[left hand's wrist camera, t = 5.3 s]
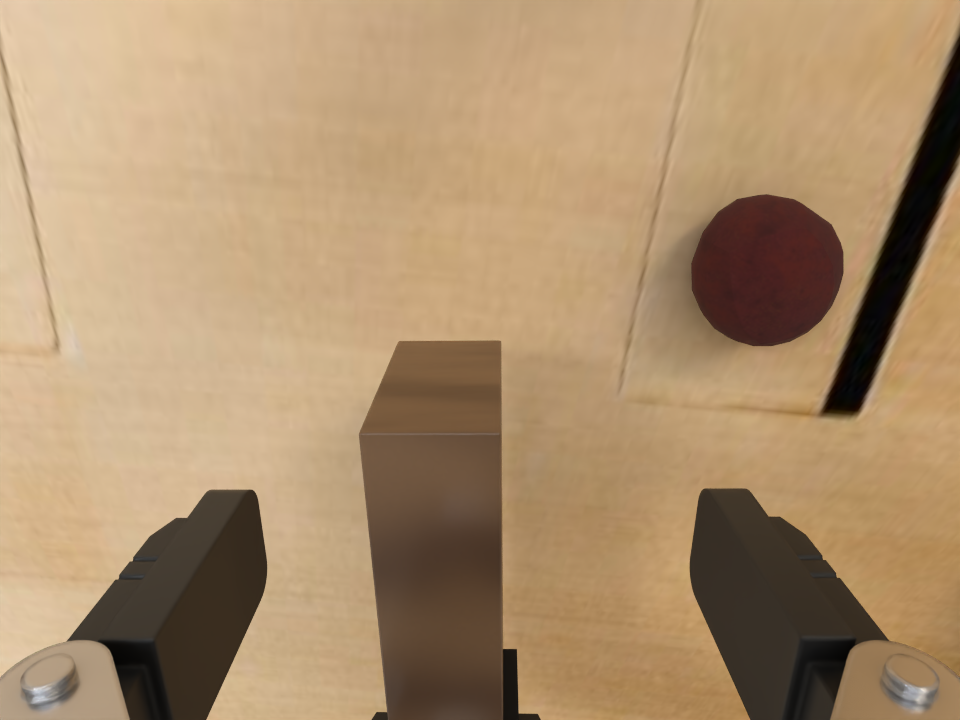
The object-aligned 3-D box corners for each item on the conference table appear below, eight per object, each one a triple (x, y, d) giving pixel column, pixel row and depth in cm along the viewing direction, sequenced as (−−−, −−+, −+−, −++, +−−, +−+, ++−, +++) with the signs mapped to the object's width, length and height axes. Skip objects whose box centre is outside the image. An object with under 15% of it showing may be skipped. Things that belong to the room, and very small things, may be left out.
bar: (397, 340, 28) (358, 433, 20) (501, 340, 28) (500, 432, 20) (423, 704, 37) (402, 868, 29) (503, 705, 37) (503, 870, 29)
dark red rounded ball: (696, 336, 38) (736, 385, 32) (658, 215, 36) (694, 242, 29) (820, 291, 37) (889, 332, 30) (790, 163, 34) (859, 177, 28)
